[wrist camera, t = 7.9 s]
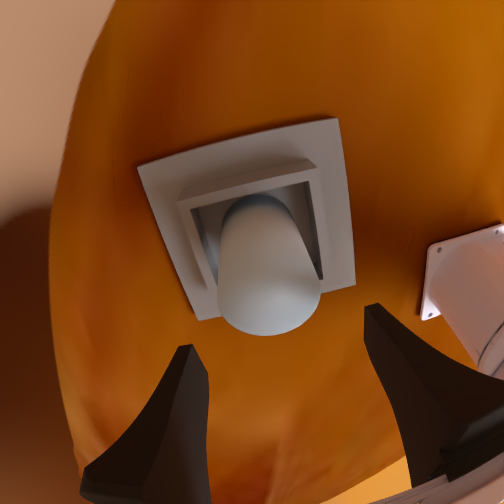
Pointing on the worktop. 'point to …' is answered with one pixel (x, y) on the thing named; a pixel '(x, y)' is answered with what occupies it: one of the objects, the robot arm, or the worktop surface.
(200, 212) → the grey square tray
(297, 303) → the cylinder
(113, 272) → the worktop surface
